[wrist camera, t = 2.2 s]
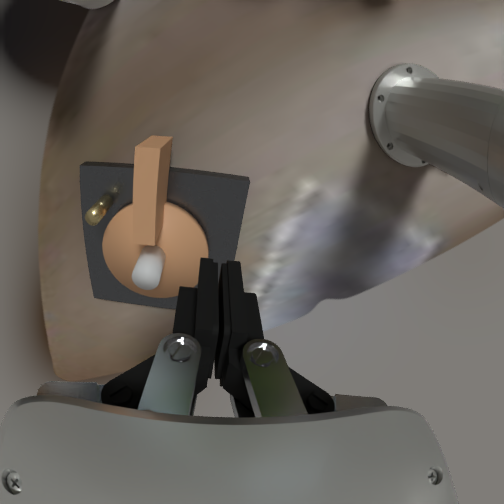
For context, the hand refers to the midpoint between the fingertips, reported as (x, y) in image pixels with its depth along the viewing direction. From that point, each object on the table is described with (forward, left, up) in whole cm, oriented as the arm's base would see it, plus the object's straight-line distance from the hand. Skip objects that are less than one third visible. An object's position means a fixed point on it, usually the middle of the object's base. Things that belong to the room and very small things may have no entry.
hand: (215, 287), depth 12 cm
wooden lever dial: (+6, +6, -17) cm, 19 cm away
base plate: (+6, +9, -19) cm, 22 cm away
